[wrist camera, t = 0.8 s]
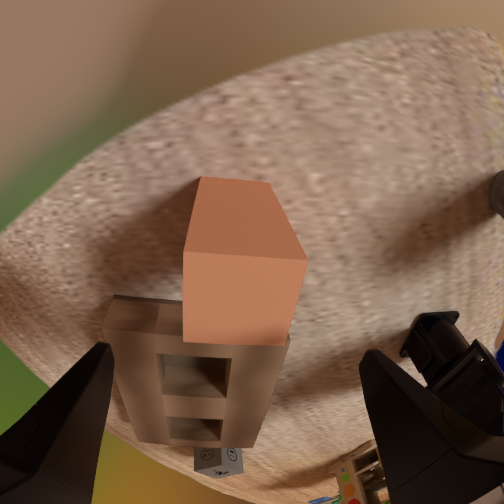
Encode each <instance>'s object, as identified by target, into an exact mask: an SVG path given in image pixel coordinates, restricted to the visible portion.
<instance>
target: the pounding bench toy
mask: <svg viewBox="0 0 504 504" xmlns="http://www.w3.org/2000/svg"><path fill="white" fill-rule="evenodd" d="M372 468H374V469H373V470H370V469H372ZM327 471H328V474H331V473H335V475H336V478H337V482H338V486H339V491H338V493H341V497H342V501H343V504H381V503H380V500H379V497H378V493H377V491H383V490H385V489H387V485H386V480H385V479H383V478H384V477H385V476H384V472H383V468H382V464H381V460H380V456H379V452H378V448H377V444H376V441H375V440H370V441H368V442H367V443H366V444H364V445H363V446H361V447H360V448H358V449H357V450H355V451H354V452H352V453H350V454H349V455H347V456H346V457H344V458H342V459H341V460H339V461H337V462H336V463H334V464H333V465H331V466H329V467H328V468H327ZM383 504H391V503H390V500H389V501H386V502H385V503H383Z"/></svg>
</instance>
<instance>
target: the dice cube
mask: <svg viewBox="0 0 504 504" xmlns="http://www.w3.org/2000/svg"><path fill="white" fill-rule="evenodd" d="M194 471H195V472H198V473H201V474H204V475H207V476H210V477H213V478H216V479H217V478H222V477H226V476H231V475H235V474H240V473H244V470H243V460H242V449H241V448H207V447H194Z"/></svg>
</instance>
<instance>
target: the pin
mask: <svg viewBox="0 0 504 504" xmlns="http://www.w3.org/2000/svg"><path fill="white" fill-rule="evenodd" d="M307 263H308V259H307V257H306V255H305V253H304V251H303V249H302V246H301V244H300V242H299V240H298V238H297V236H296V234H295V232H294V230H293V228H292V227H291V225H290V223H289V221H288V219H287V217H286V215H285V213H284V211H283V209H282V207H281V205H280V203H279V201H278V199H277V197H276V195H275V193H274V192H273V190H272V188H271V186H270V184H269V183H265V182H256V181H246V180H236V179H226V178H214V177H201V178H200V182H199V186H198V190H197V194H196V198H195V202H194V207H193V211H192V215H191V219H190V224H189V228H188V233H187V237H186V242H185V247H184V251H183V342H193V343H209V344H229V345H265V346H284V345H285V342H286V338H287V335H288V332H289V328H290V325H291V321H292V318H293V314H294V311H295V307H296V304H297V300H298V297H299V293H300V290H301V286H302V282H303V279H304V275H305V271H306V267H307Z"/></svg>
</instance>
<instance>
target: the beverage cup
mask: <svg viewBox="0 0 504 504" xmlns="http://www.w3.org/2000/svg"><path fill="white" fill-rule="evenodd" d="M490 204H491V207H492V209H494V210H495V211H496V212H497V213H498V214H500V215H501V217H502V218H503V219H504V170H503V171H501V172H500V173H498V174H497V176H496V177H495V179H494V181H493V183H492V186H491V190H490Z"/></svg>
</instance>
